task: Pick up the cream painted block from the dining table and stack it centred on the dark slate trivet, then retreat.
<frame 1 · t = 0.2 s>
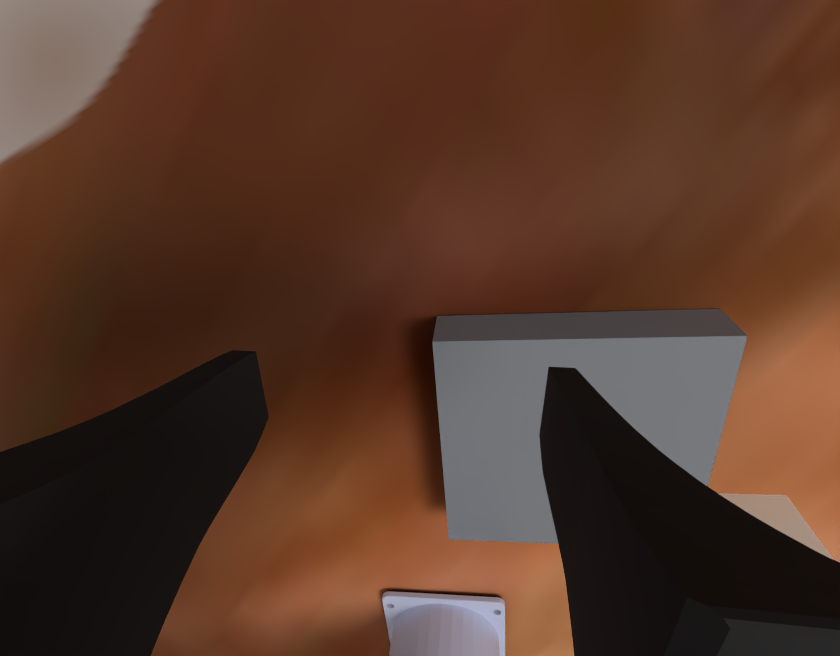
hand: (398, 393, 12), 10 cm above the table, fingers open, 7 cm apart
trivet: (565, 420, 24), on the table
block: (729, 523, 26), on the table
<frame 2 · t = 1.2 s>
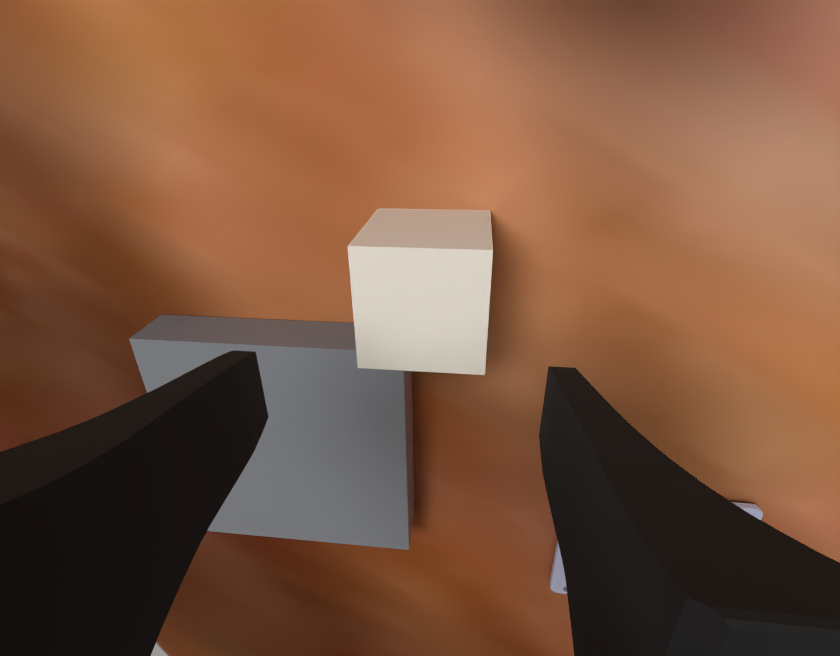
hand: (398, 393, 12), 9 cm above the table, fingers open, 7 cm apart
trivet: (299, 422, 25), on the table
block: (433, 262, 20), on the table
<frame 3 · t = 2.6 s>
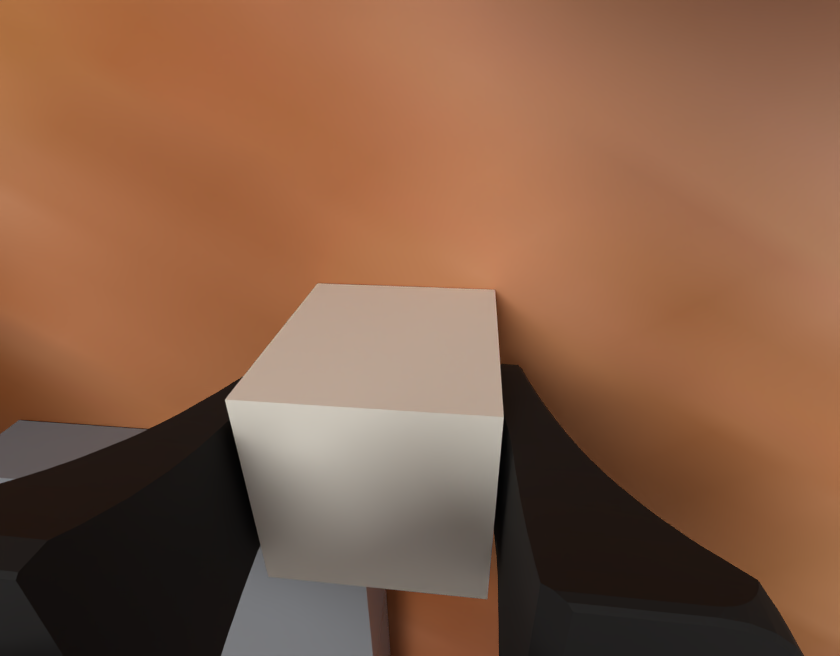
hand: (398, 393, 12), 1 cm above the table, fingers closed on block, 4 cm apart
trivet: (227, 557, 18), on the table
block: (406, 362, 13), on the table, touching gripper
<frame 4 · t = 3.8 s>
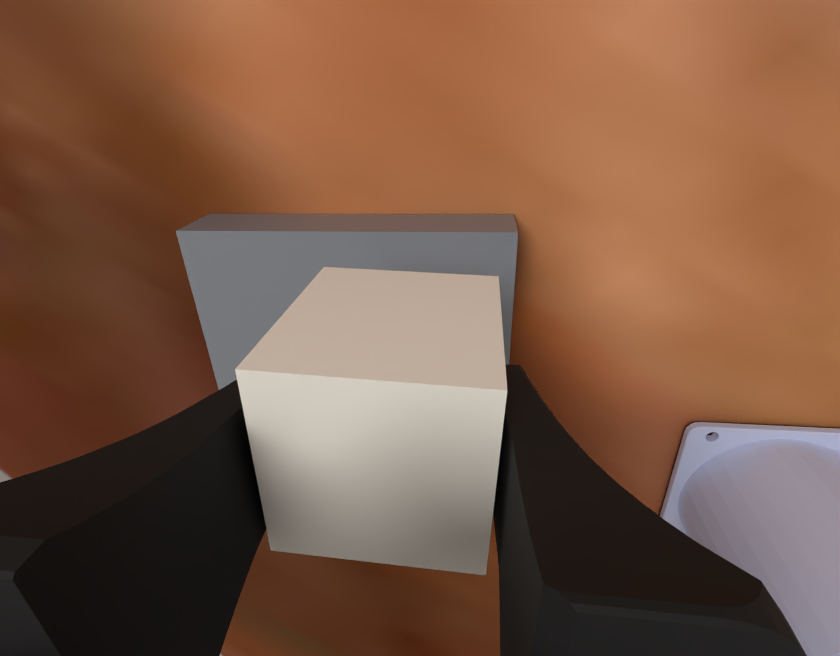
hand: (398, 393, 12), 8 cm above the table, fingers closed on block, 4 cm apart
trivet: (368, 348, 21), on the table
block: (409, 348, 13), point 7 cm above the table, touching gripper
when the fingers open (5 cm above the table, at t = 5.1 s): block drops 1 cm, resting on trivet.
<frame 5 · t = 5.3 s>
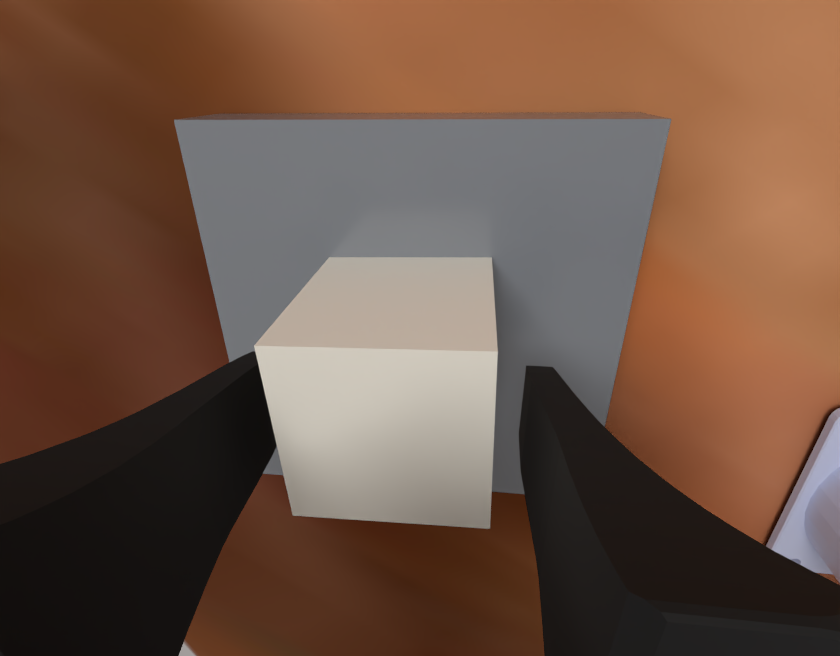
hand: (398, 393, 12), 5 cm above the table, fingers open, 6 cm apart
trivet: (421, 304, 16), on the table
block: (412, 329, 14), point 2 cm above the table, touching trivet
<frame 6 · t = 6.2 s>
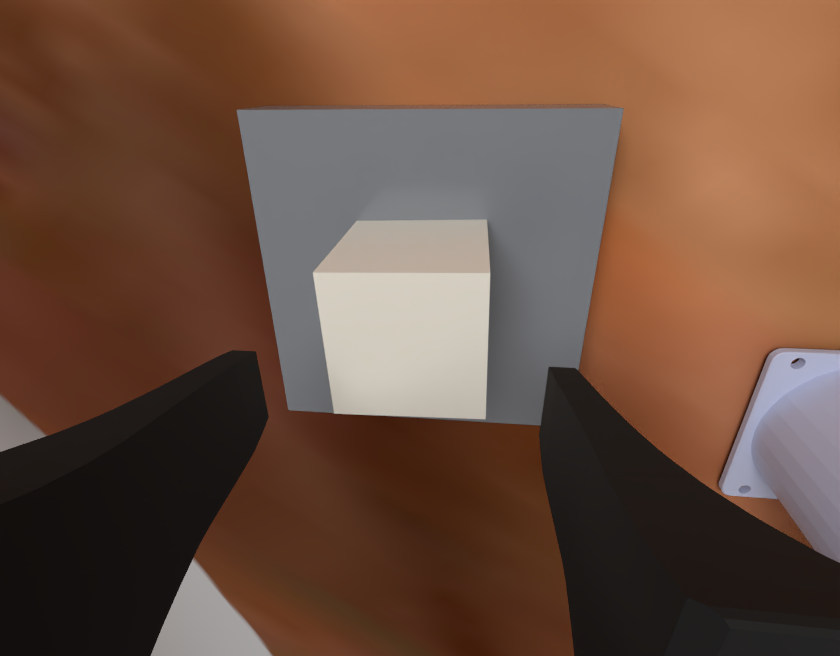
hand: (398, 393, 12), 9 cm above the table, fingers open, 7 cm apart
trivet: (429, 265, 20), on the table
block: (423, 281, 17), point 2 cm above the table, touching trivet
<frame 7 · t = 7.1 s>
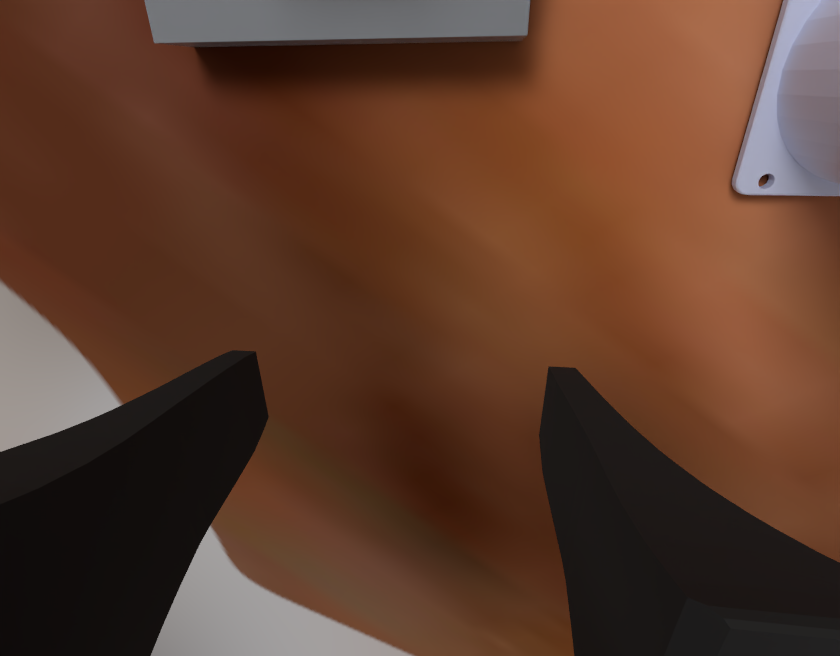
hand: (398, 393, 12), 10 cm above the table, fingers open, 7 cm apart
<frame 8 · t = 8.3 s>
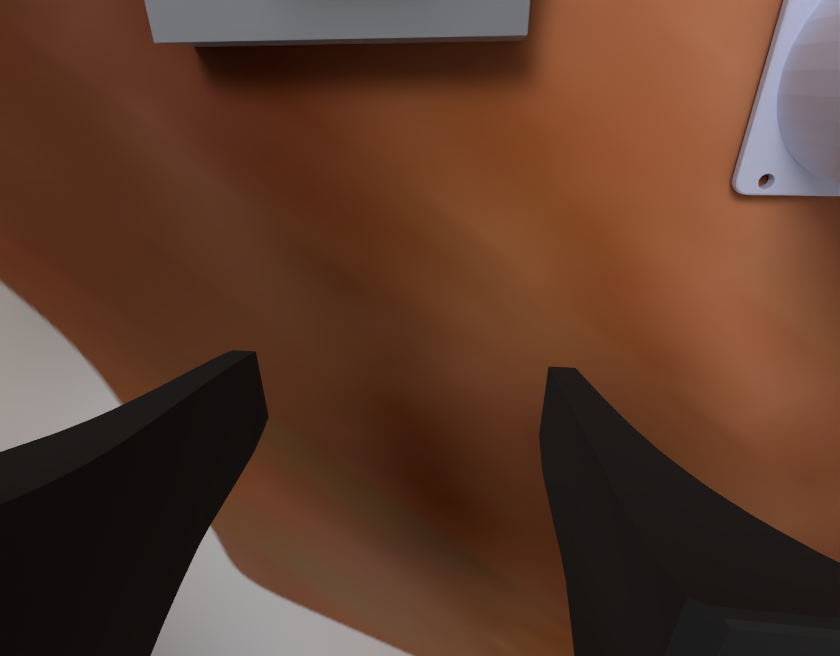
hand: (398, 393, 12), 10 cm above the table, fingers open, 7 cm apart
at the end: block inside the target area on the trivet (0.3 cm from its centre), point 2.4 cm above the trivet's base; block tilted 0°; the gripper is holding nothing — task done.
